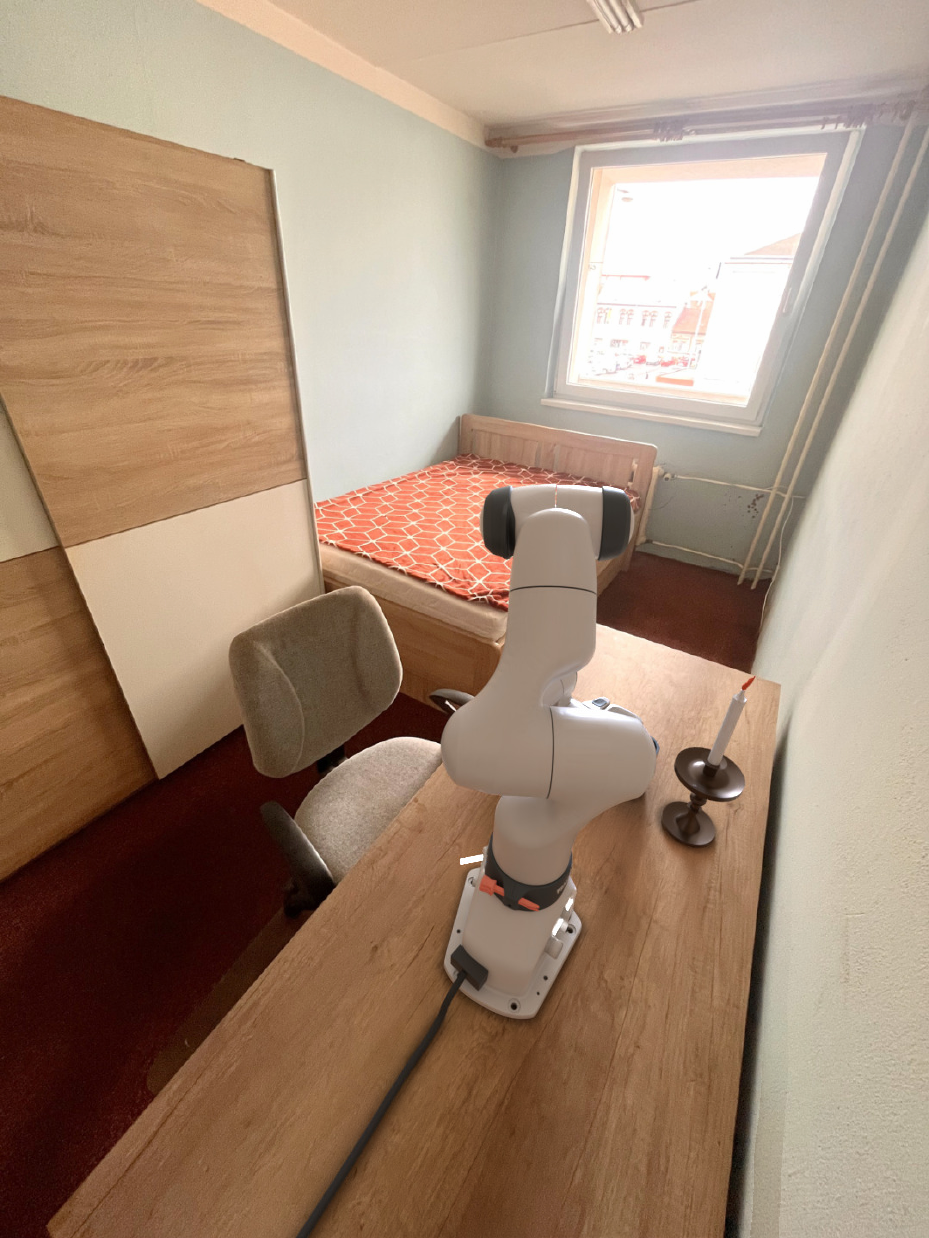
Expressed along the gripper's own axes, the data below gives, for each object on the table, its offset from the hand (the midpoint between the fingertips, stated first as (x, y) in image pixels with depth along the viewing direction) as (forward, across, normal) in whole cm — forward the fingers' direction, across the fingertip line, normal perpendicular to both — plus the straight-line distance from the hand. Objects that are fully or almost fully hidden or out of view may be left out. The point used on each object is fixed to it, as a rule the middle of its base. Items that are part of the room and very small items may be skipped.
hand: (639, 764), depth 95 cm
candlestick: (+11, 0, +7) cm, 13 cm away
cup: (-1, 0, +6) cm, 6 cm away
